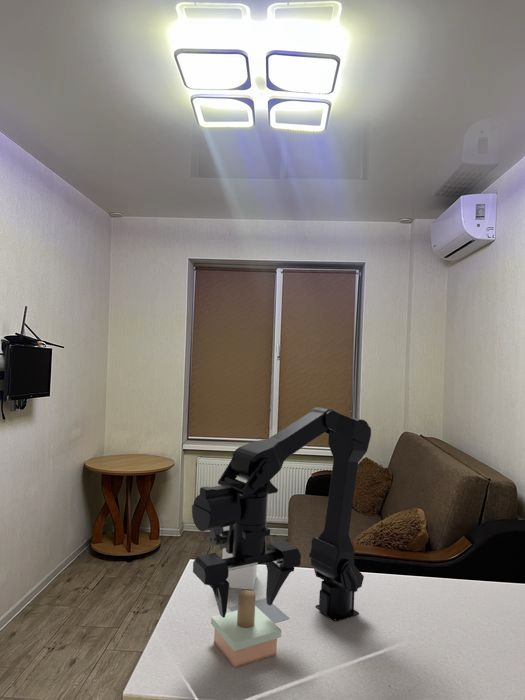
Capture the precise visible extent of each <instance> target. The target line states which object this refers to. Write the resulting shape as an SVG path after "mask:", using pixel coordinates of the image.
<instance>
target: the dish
mask: <svg viewBox="0 0 525 700" xmlns="http://www.w3.org/2000/svg"><path fill="white" fill-rule="evenodd" d="M213 635H214V636H213V643H214V644H215V646H217V648H218V649H219V650H220V652H221V653H222V654H223V655H224V657H225V658H226V659H227V661H229V663H230V665H232V667H233V668H234V669H235V668H239V667H242V666H245V665H248V664H252V663H254V662H257V661H260V660H261V661H262V660H264V659H267V658H271V657H273V656H277V644H278V638H276V639H273V640H270V641H266V642H263V643H260V644H256V645H253V646H250V647H246V648H243V649H240V650H236V651H234V650H233V649H232V648H231V647H230V646H229V644H228V643H227V642H226V641H225V640H224V638H223V637H222V636H221V635H220V634H219V632H218V631H217V630H216V629H215V628H214V634H213Z"/></svg>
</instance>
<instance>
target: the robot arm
mask: <svg viewBox="0 0 525 700" xmlns="http://www.w3.org/2000/svg"><path fill="white" fill-rule="evenodd" d="M323 434H326V435H328V447H329V450H330V452H331V455H332V458H333V461H332V468H331V469H332V470H331V477H330V484H329V489H328V490H329V492H328V497H327V498H328V499H327V505H326V515H325V521H324V529H323V530H322V532H320V534H319V535H318V537H315V536H314V537H312V539H311V549H310V552H309V555H308V558H310V565H311V566H312V568H313V570H314V574H315V577H317V578H320V580H321V586H320V589H319V597H318V598H319V601H318V604H316V605H315V608H316V609H317V610H319V612H320V613H322V614H323V615H324V616H326V617H327V618H329V620H331V621H333V622H339V621H343V620H346V619H349V618H353V617H356V616H358V615H359V616H360V612H359V611H357V610H356V609H355V593H356V592H358V590H359V589H360V588H362V587H363V582H364V578H365V576H364V575H363V573H362V572H361V571H360V570H359V568H357V566H356V565H355V548H354V545H353V543H352V540H351V537H350V525H351V521H352V520H351V518H352V513H353V512H352V511H353V510H352V509H353V504H354V495H355V488H356V483H357V482H356V480H357V475H358V474H357V472H358V467H359V466H358V465H359V462H360V461H361V460H362V459H363V457H364V456H365V454H367V452H368V449H369V445H370V441H371V437H372V428H371V426H369V424H368V422H367V421H366V420H364V419H362V418H355V417H349V416H347V415H344V414H341V413H339V412H337V411H335V410H333V408H332V409H330V408H326V407H325V408H324V407H318V406H316V407H313V408H311V410H310V411H309V412H308V413H307V414H305V415H303V416H302V417H300V418H299V419H297V420H295V421H294V422H292V423H291V424H289V425H288V426H286V427H284V428H283V429H281V430H280V431H278V432H277V433H275V434H273V435H272V436H270V437H268V438H265V439H260V440H255V441H251V442H249V443H247V444H244V445H241V446H239V447H237V449H235V450H234V452H232V457H231V460H230V462H229V464H227V466H226V468H225V470H224V471H223V473H222V475H221V476H220V478H219V479H218V481H217V484H218V485H216V486H201V487H200V488H199V494H198V495H196V497H195V498H194V501H193V504H192V505H191V515H192V520H193V522H194V523H193V524H194V526H195V528H196V529H198V531H200V532H207V531H209V543H210V545H211V546H219V547H218V548H219V550H223V548H226V552H227V553H228V554H232V557H231V558H226V559H222V557H221V556H220V555H219V554H217V553H216V552H211V553H206V554H201V555H197V556H196V557H195V559H194V561H193V562H192V572H193V574H194V575H195V576H196V577H197V578H198V579H199V580H200V581H201V582H202V584H204V585H205V586H208V587H210V588H211V589H212V592H213V595H214V597H215V601H216V605H217V608H218V611H219V615H221V616H222V617H223V618H224V617H225V615H226V613H227V610H228V603H229V602H228V600H229V599H228V598H229V593H230V592H229V591H230V590H229V589H230V587H229V582H228V581H227V580H226V579H227V578H228V572H229V570H234V569H238V568H243V567H248V566H253V565H257V566H258V565H263V564H265V567H266V570H267V572H266V575H267V576H266V591H265V592H266V593H265V595H266V597H265V598H266V601H267V604H268V605H269V606H270V605H272V603H273V604H274V601H275V599H276V597H277V595H278V594H279V592H280V590H281V588H282V586H283V585H284V583H285V581H286V580H287V578H288V577H289V575H290V574H291V573H292V572H294V571H295V568H296V567H300V566H301V561H302V560H301V557H302V554H301V552H300V550H299V549H298V548H297V547H296V546H294V545H293V544H291V543H290V542H288V541H287V540H285V539H284V540H276V541H272V542H269V543H266V542H267V541H266V539H267V538H266V537H268V536H271V529H270V528H268V527H267V516H268V514H267V512H268V497H269V496H268V495H272V494H276V493H278V491H279V489H278V488H277V487H276V486H275V485H274V484H273V483H272V481H271V480H272V479H273V478H274V477H275V476H277V474H278V473H280V471H281V469H282V467H283V465H284V462H285V461H286V460H287V459H288V458H289V457H290V456H292V455H294V454H295V453H296V452H298V451H299V450H301V449H303V448H304V447H305V446H307V445H308V444H309V443H311V442H313V441H314V440H316V439H317V438H319V437H320V436H322V435H323ZM236 478H239V479H242V480H245V481H246V482H244V481H242V480H239V479H236ZM226 526H230V527H229V530H224V527H226Z"/></svg>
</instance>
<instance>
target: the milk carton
mask: <svg viewBox="0 0 525 700" xmlns="http://www.w3.org/2000/svg"><path fill="white" fill-rule="evenodd" d="M229 527H230V526H226V527H223V530H229ZM231 557H232V554H228V553H227V552H226V548H223V549H222V557H221V558H222V559H226V558H231ZM257 570H258V565H253V566H248V567H243V568H238V569H234V570H229V572H228V578H227V579H226V580H227V581H228V582H229V589H231V588H232V589H243V590H251V591H253V590H254V588H255V582H256V578H257V572H258V571H257Z"/></svg>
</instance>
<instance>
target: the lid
mask: <svg viewBox="0 0 525 700" xmlns="http://www.w3.org/2000/svg"><path fill="white" fill-rule="evenodd" d="M237 595H238V597H237V598H238V599H237V605H238V610H236V611H233V612H232V611H229V612H226V615H225V617H224V618H223V617H222V616H221V615H220V614H218V615H214V616H211V618H210V624H211V626H212V627H213V628H214V630H215V629H216V630H217V631H218V632H219V634H220V635H221V636H222V637H223V638H224V640H225V641H226V642H227V643H228V644H229V646H230V647H231V648H232V649H233V650H234V651H236V650H240V649H243V648H246V647H250V646H253V645H256V644H260V643H263V642H266V641H270V640H273V639H276V638H277V639H278V638H282V629H281V628H280V627H279V626H278V625H277V623H273V622H272V621H271V620H270V619H269V618H268V617H267V616H266V615H265V614H264V613H263V612H262V611H261V610H259V609H258V608H257V607H256V606H255V601H256V595H257V594H256V592H255V591H253V590H250V589H243V590H241V591H239V592H238V594H237Z"/></svg>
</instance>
